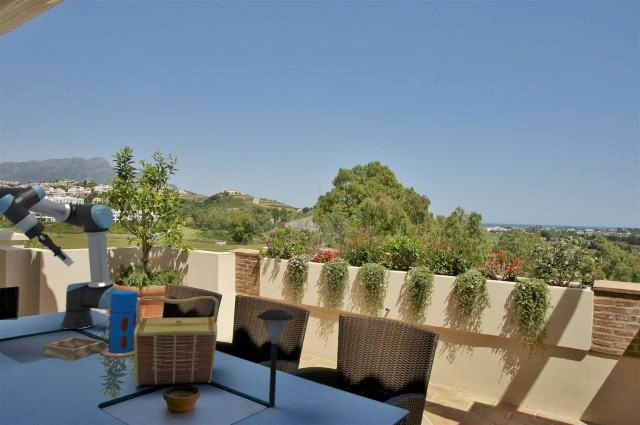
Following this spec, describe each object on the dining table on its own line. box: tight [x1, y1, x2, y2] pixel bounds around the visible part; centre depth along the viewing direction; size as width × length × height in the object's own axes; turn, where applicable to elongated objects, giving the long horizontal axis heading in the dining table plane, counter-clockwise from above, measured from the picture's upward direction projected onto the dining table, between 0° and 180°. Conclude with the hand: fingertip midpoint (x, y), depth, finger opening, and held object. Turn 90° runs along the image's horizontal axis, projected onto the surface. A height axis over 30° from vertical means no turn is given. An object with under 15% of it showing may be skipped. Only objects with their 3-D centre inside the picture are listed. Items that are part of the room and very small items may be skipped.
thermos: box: [107, 290, 139, 353], centre depth 202 cm, size 11×11×25 cm
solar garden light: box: [256, 309, 296, 408], centre depth 148 cm, size 12×12×30 cm
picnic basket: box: [133, 295, 220, 387], centre depth 170 cm, size 29×26×30 cm
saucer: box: [101, 347, 134, 358], centre depth 201 cm, size 16×16×1 cm
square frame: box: [42, 336, 106, 361], centre depth 197 cm, size 16×16×4 cm
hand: (70, 263), depth 199 cm, fingers open, 13 cm apart
